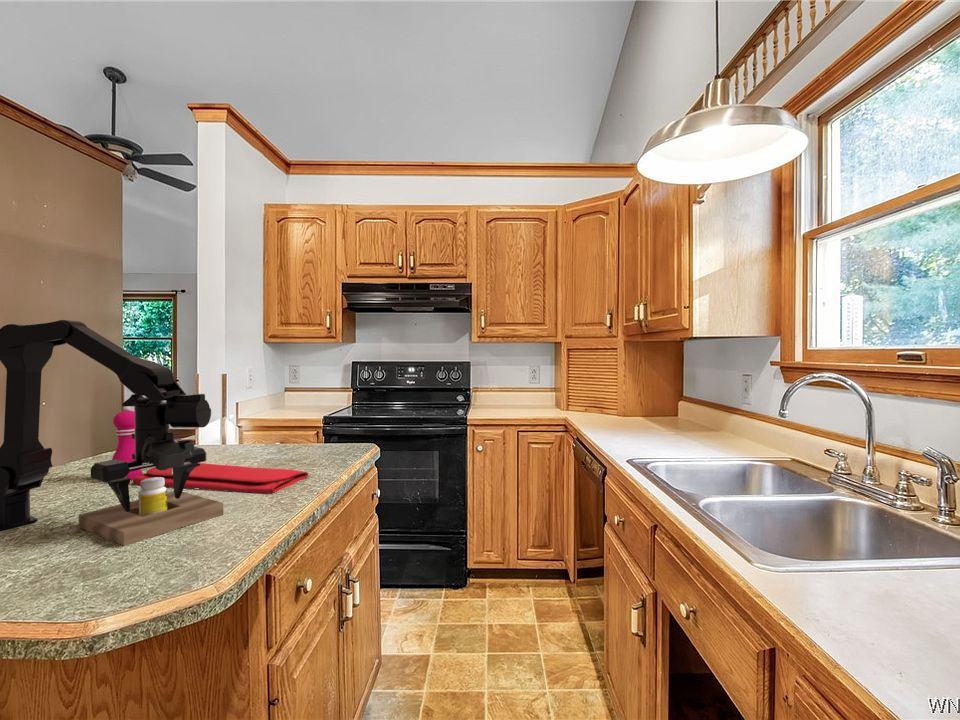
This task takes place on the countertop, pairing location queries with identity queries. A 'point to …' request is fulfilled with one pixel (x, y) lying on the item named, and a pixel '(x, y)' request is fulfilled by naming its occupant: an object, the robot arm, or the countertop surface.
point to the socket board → (149, 518)
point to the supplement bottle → (152, 496)
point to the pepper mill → (125, 438)
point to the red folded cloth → (230, 478)
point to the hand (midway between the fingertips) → (153, 504)
